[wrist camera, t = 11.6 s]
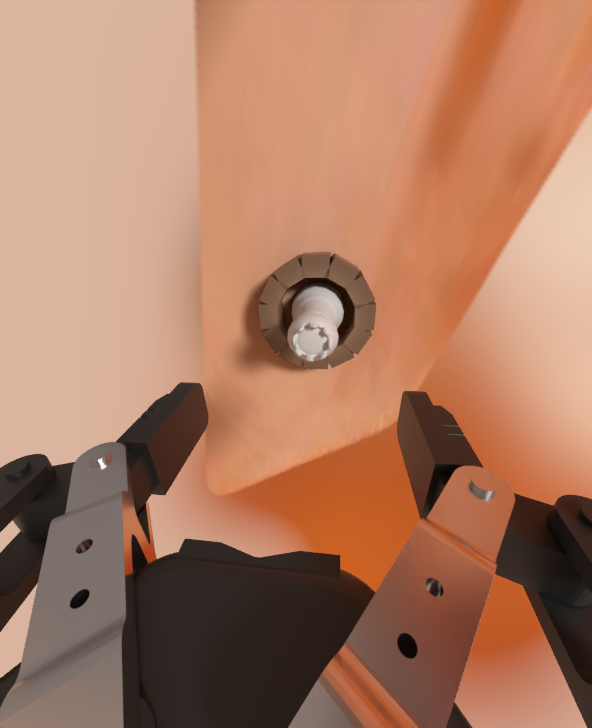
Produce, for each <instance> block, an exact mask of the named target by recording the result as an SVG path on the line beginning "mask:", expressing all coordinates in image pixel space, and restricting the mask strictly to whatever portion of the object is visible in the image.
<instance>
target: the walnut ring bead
mask: <svg viewBox="0 0 592 728" xmlns="http://www.w3.org/2000/svg"><path fill="white" fill-rule="evenodd" d="M304 278H328V279H330V280H332V281H333V282H335V283H337V284H338V285H340V286H342V287H344V288H345V289H346V290H347V292H348V294H349V296H350V298H351V300H352V302H353V317H352V319H351V321H350V322H349V324H348V325H347V327H346V328H345V330H344V331H343V333H341V334H340V335H339V338H338V344H337V347H336V348H335V350H334V351H333V353H332V354H331V355H329V356H328V357H326V358H325V359H323V360H317V361H313V362H307V361H306V360H305V359H303V358H301V357H299V358H298V356H297V355H296V354H295V353H294V352H293V351H292V349H291V348H290V346H289V343H288V340H287V337H288V329H289V326H288V324H287V322H286V321H285V319H284V318H283V302H282V299H283V297H284V295H285V293H286V291H287V289H288V288H289V287H291V286H292V285H294V284H296V283H297V282H299V281H300V280H302V279H304ZM259 300H260V301H261V302H260V303H259V304H258V309H259V320H260V329H265V330H264V331H263V333H262V334H263V336H264V337H265V339H266V340H267V342H268V343H269V344H270V346H271V347H272V349H273V350H274V352H275V353H276V352H278V351H280V350H281V352H280V355H279V356H280V357H281V358H283V359H285V360H287V361H289V362H291V363H293V364H295V365H296V366H298V367H300V366H301V364H302V362H303V361H304V368H310V369H328V362H329V364H330V365H331V367H332V368H333V367H335V366H337V365H340V364H342V363H344V362H346V361H348V360H350V359H352V358H354V356H353V352H354V353H355V354H357V355H358V353H359V352H360V351H361V349H362V348H363V346H364V345H365V344H366V342H367V341H368V340H369V338H370V337H371V335H372V333H371V330H374V323H375V312H376V303H375V301H374V300H375V298H374V296H373V294H372V292H371V290H370V288H369V286H368V284H367V282H366V280H365V278H364V276H363V274H362V272H361V270H360V271H359V270H358V268H357V266H355V265H354V264H352V263H350V262H349V261H347V260H345V259H344V258H342V257H340V256H339V255H337V254H335V255H334V256H333V258H332V260H331V262H330V252H315V253H304V254H303V255H302V256H301V255H298V256H296V257H295V258H293V259H292V260H290V261H289V262H287V263H286V264H284V265H283V266H281V267H280V268H278V269H277V270H276V271H275V272H274V274H272V275H271V276H270V278H269V280H268V282H267V284H266V286H265V288H264V290H263V292H262V294H261V297H260V299H259Z"/></svg>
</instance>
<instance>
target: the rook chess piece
mask: <svg viewBox="0 0 592 728" xmlns="http://www.w3.org/2000/svg"><path fill="white" fill-rule="evenodd" d="M344 310H345V306H344V302H343V297H342V296H341V295H340V293H339V292H338V291H337V289H335V288H334V287H332V286H330V285H328V284H326V283H317V282H315V283H312V284H309V285H305V286H304V287H303V288H302V289H301V290H299V291H298V292H297V294H296V296H295V298H294V300H293V303H292V312H291V315H292V318H293V322H292V324H291V325H290V327H289V329H288V337H287V340H288V343H289V346H290V348H291V349H292V351H293V352H294V353H295V354H296V355H297V356H298V358H299V357H301V358H303V359H305V360H306V361H307V362H313V361H317V360H323V359H325V358H326V357H328V356H329V355H331V354H332V353H333V351H334V350H335V348H336V347H337V344H338V338H339V335H338V332H337V329H338V327H339V326H340V324H341V322H342V321H343V316H344Z"/></svg>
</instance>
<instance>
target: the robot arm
mask: <svg viewBox="0 0 592 728" xmlns="http://www.w3.org/2000/svg"><path fill="white" fill-rule="evenodd" d="M207 424H208V411H207V407H206V402H205V397H204V393H203V388H202V386H201V384H200V383H184V382H183V383H179V384H178V385H177V386H176V387H175V388H174V389H173V391H172V392H171V393H170V394H166V395H165V396H163V397H161V398H160V399H158V400H156V401H155V402H154V403H153V404H152V405H151V406H150V407H149V408H148V410H147V411H145V413H143V414H142V416H141V418H139V419H138V420H137V421H136V422H135V423H134V424H133V425H132V426H131V427H130V428H129V429H128V430H127V431H126V432H125V433H124V434H123V435H122V436H121V437H120V438H119V439H118V440H117V441H116V442H109V443H104V444H101V445H98V446H95V447H93V448H91V449H90V450H88V451H86V452H85V453H83V454H82V455H81V456H80V457H79V458H78V459H77V460H76V462H73V463H67V464H62V465H56V466H52V465H51V463H50V462H49V460H48V458H47V457H46V456H45V455H42V454H33V455H28V456H24V457H22V458H19V459H16V460H14V461H12V462H10V463H8V464H6V465H4V466H3V467H1V468H0V532H1V531H2V530H3V529H4V528H5V527H6V526H7V525H8V524H9V523H10V522H11V521H12V520H13V521H14V522H15V524H16V525H17V527H18V528H19V529H20V530H21V531H20V533H19V534H18V535H17V536H16V537H15V538H14V539H13V540H12V541H11V542H10V543H9V544H8V545H7V546H6V548H4V549H3V551H2V552H1V553H0V632H1V630H2V629H3V628H4V626H5V625H6V624H7V622H8V621H9V620H10V619H11V617H12V616H13V614H14V613H15V612H16V611H17V609H18V608H19V607H20V605H21V604H22V603H23V601H24V600H25V599H26V598H27V596H28V595H29V594H30V592H31V591H32V590H33V588H34V587H35V586H36V584H37V583H38V585H37V590H36V594H35V599H34V604H33V609H32V614H31V618H30V623H29V629H28V633H27V638H26V643H25V648H24V652H23V657H22V662H20V663H19V664H18V665H17V666H15V667H14V668H13V669H12V670H10V671H9V672H8V673H6V674H5V675H4V676H3V677H1V678H0V728H472V726H471V725H470V724H469V722H468V721H467V719H466V718H465V716H464V715H463V714H462V712H461V711H460V709H459V708H458V706H457V705H456V704H455V702H454V701H455V698H456V695H457V692H458V689H459V685H460V682H461V678H462V676H463V672H464V669H465V666H466V663H467V660H468V657H469V654H470V651H471V647H472V644H473V641H474V638H475V635H476V631H477V628H478V625H479V622H480V619H481V616H482V613H483V609H484V606H485V603H486V600H487V597H488V594H489V590H490V587H491V584H492V581H493V578H494V575H495V574H497V575H499V576H501V577H504V578H506V579H508V580H511V581H513V582H516V583H518V584H521V585H523V587H524V589H525V591H526V594H527V596H528V598H529V600H530V602H531V604H532V607H533V609H534V611H535V613H536V616H537V618H538V620H539V622H540V624H541V627H542V629H543V631H544V633H545V635H546V637H547V640H548V642H549V644H550V646H551V648H552V651H553V653H554V655H555V657H556V660H557V662H558V664H559V666H560V668H561V670H562V673H563V675H564V677H565V679H566V682H567V684H568V686H569V688H570V690H571V692H572V695H573V697H574V699H575V701H576V704H577V706H578V708H579V710H580V712H581V714H582V717H583V719H584V721H585V723H586V726H587V728H592V499H589V498H586V497H582V496H577V495H564V496H561V497H560V498H558V500H557V501H556V503H555V504H554V506H553V505H549V504H546V503H543V502H539V501H536V500H533V499H530V498H526V497H523V496H520V495H518V494H515V493H514V492H513V490H512V489H511V487H510V486H509V485H508V484H507V482H506V481H504V480H503V479H502V478H501V477H500V476H498V475H497V474H495V473H493V472H491V471H489V470H487V469H484V468H483V466H482V464H481V463H480V461H479V459H478V458H477V456H476V454H475V452H474V451H473V449H472V448H471V446H470V444H469V442H468V441H467V439H466V437H465V436H464V434H463V432H462V431H461V429H460V428H459V427H458V424H457V422H456V420H455V419H454V417H453V415H452V414H450V413H449V412H448V411H447V410H446V409H444V408H443V407H442V406H433V404H432V403H431V401H430V399H429V397H428V395H427V393H426V392H417V391H404V392H403V395H402V400H401V406H400V412H399V418H398V424H397V434H398V441H399V445H400V448H401V451H402V455H403V459H404V462H405V466H406V469H407V473H408V476H409V479H410V484H411V487H412V491H413V494H414V498H415V501H416V505H417V508H418V512H419V515H420V519H421V520H420V521H419V522H418V524H417V526H416V527H415V529H414V531H413V532H412V534H411V535H410V537H409V539H408V540H407V542H406V544H405V545H404V547H403V549H402V550H401V552H400V554H399V555H398V557H397V558H396V560H395V562H394V563H393V565H392V567H391V568H390V570H389V572H388V573H387V575H386V577H385V578H384V580H383V581H382V583H381V585H380V586H379V588H378V590H377V591H376V592H374V591H373V590H372V589H371V588H370V587H369V586H368V585H367V584H365V583H364V582H363V581H361V580H360V579H359V578H357V577H355V576H354V575H352V574H350V573H348V572H346V571H344V570H341V569H340V555H332V554H323V553H313V552H304V551H297V552H291V553H285V554H279V555H273V556H268V557H262V558H258V557H253V556H251V555H249V554H246V553H244V552H242V551H239V550H237V549H235V548H233V547H230V546H228V545H226V544H223V543H221V542H212V541H202V540H193V539H185V540H184V542H183V544H182V546H181V548H180V550H179V552H177V553H173V554H169V555H166V556H164V557H161V558H159V559H156V554H155V548H154V541H153V533H152V526H151V517H150V510H149V505H148V502H147V500H148V498H149V497H150V496H151V494H156V495H166V493H167V491H168V490H169V488H170V486H171V485H172V483H173V481H174V480H175V478H176V476H177V475H178V473H179V472H180V470H181V468H182V467H183V465H184V463H185V462H186V460H187V458H188V456H189V455H190V454H191V452H192V450H193V449H194V447H195V445H196V444H197V442H198V440H199V439H200V437H201V435H202V434H203V432H204V431H205V429H206V427H207Z"/></svg>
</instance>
